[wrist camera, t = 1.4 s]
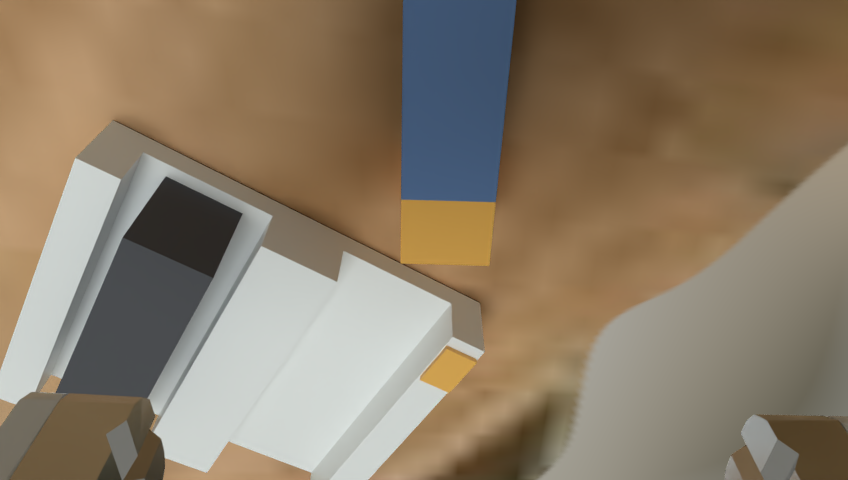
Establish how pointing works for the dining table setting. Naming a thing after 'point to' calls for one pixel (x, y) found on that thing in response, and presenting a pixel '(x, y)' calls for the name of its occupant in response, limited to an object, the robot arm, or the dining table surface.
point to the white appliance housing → (254, 323)
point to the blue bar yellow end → (452, 126)
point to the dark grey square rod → (150, 292)
